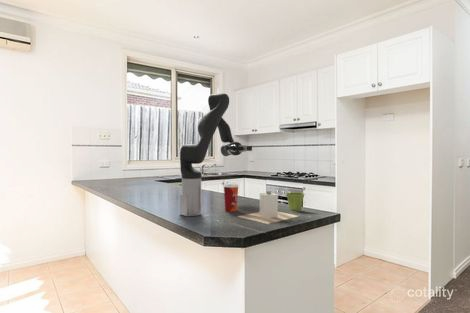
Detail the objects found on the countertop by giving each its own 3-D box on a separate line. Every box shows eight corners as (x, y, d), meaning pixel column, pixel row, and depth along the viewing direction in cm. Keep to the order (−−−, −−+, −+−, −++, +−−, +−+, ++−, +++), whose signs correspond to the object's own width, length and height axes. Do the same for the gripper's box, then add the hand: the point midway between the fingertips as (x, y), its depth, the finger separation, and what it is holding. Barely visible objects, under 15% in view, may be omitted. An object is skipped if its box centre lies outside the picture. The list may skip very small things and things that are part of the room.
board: (267, 225, 114) (267, 223, 114) (237, 218, 128) (237, 216, 128) (299, 217, 129) (299, 215, 129) (269, 211, 143) (269, 210, 143)
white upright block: (264, 218, 125) (264, 192, 125) (259, 214, 131) (259, 190, 131) (277, 217, 126) (277, 192, 126) (272, 214, 132) (272, 190, 132)
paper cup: (237, 213, 137) (237, 184, 137) (221, 213, 138) (221, 184, 138) (240, 210, 144) (240, 183, 144) (225, 210, 146) (225, 182, 146)
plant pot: (297, 213, 139) (297, 195, 139) (282, 210, 146) (282, 193, 146) (308, 210, 145) (308, 193, 145) (293, 208, 152) (293, 191, 152)
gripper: (222, 141, 160) (227, 140, 144) (246, 142, 163) (254, 141, 147) (222, 155, 160) (227, 155, 144) (246, 155, 163) (254, 155, 147)
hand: (241, 148), depth 146 cm, fingers open, 8 cm apart
